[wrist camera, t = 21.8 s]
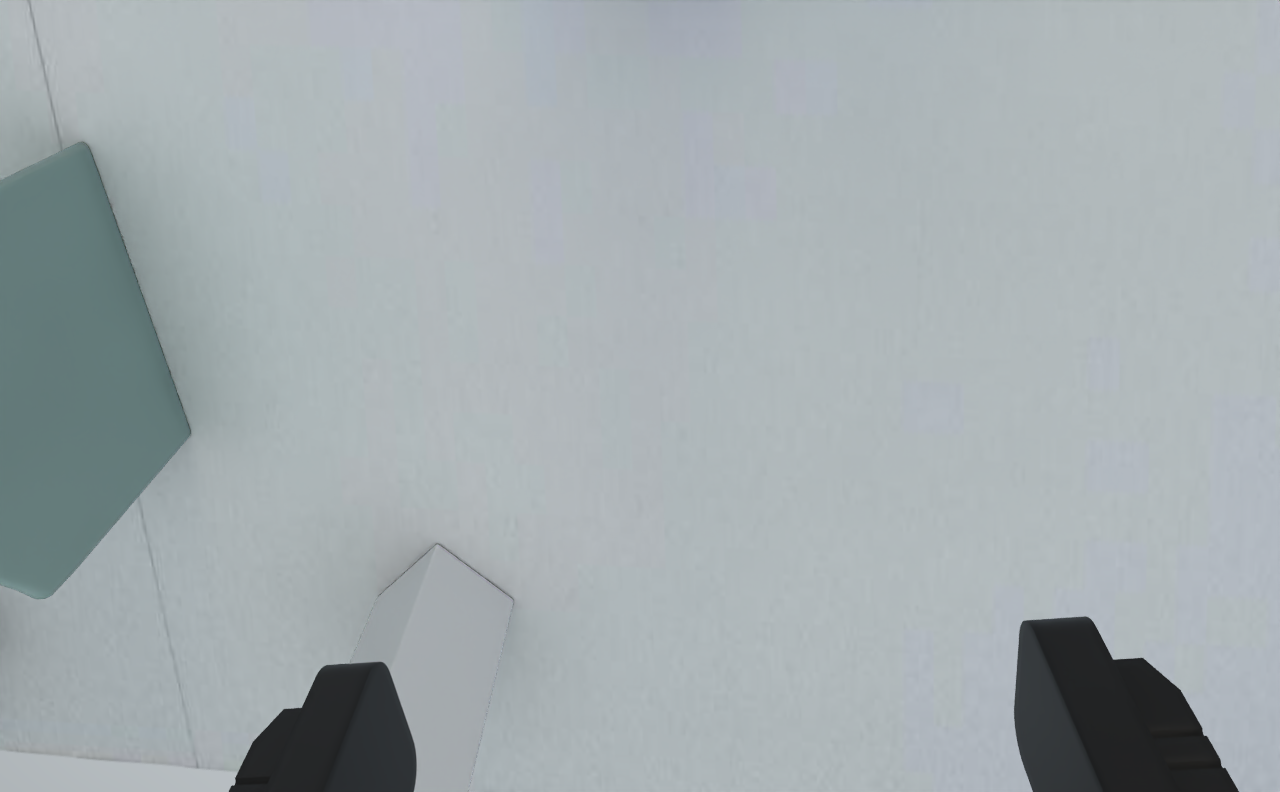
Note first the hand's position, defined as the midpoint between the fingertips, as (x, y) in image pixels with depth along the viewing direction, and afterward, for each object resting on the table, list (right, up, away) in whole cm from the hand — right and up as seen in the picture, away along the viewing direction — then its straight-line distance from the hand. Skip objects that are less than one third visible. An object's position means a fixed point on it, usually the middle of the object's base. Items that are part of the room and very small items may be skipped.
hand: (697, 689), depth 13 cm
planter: (-30, +9, +39) cm, 50 cm away
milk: (-12, -8, +47) cm, 49 cm away
